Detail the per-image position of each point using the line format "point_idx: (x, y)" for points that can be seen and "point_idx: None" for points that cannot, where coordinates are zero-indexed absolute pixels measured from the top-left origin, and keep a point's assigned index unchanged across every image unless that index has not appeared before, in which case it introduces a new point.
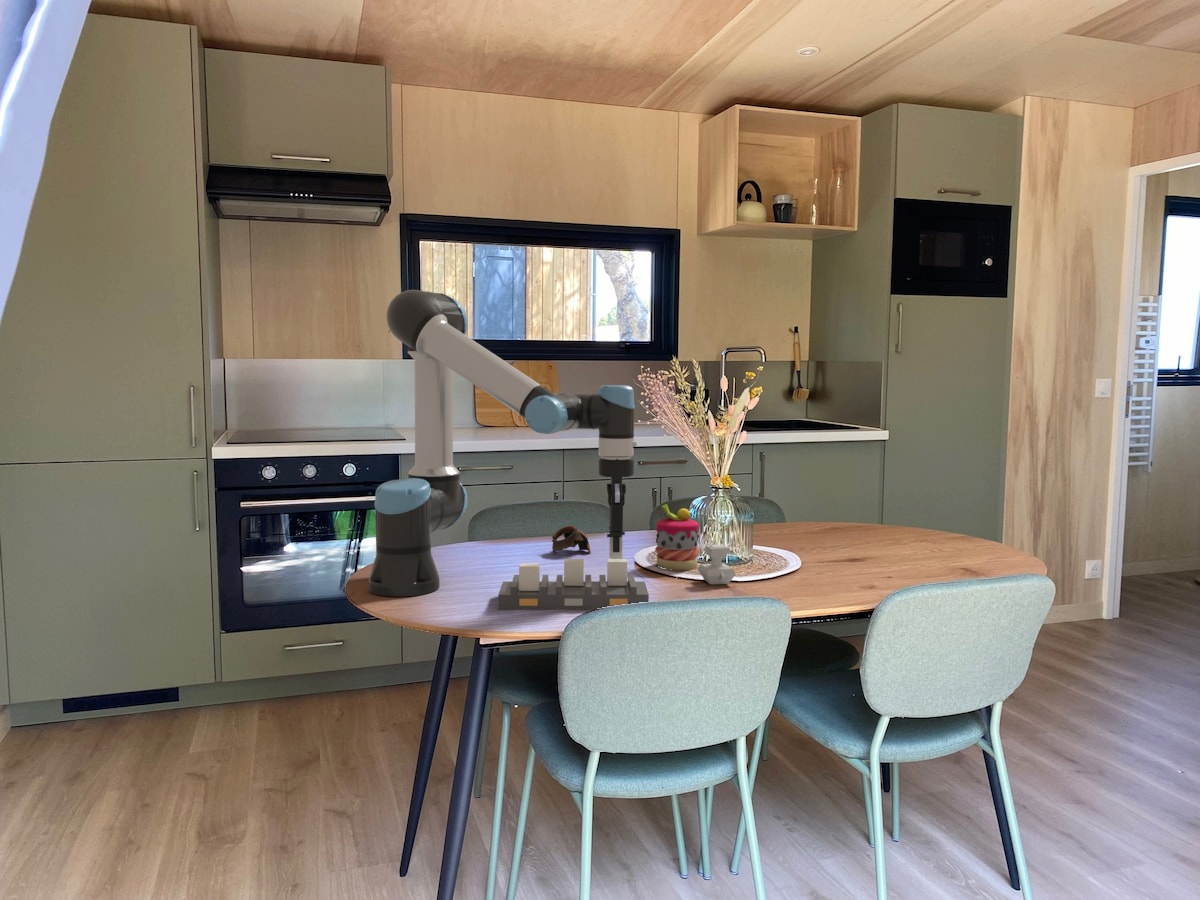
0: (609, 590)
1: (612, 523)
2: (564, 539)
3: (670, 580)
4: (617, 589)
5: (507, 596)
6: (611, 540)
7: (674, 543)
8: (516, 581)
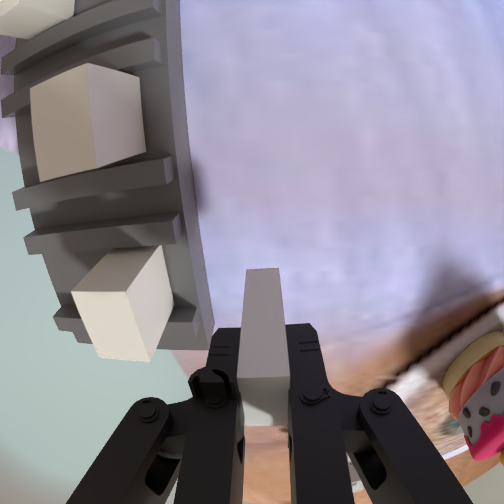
0: (76, 252)
1: (93, 474)
2: None
3: (372, 370)
4: None
5: None
6: (237, 367)
7: (474, 410)
8: None
